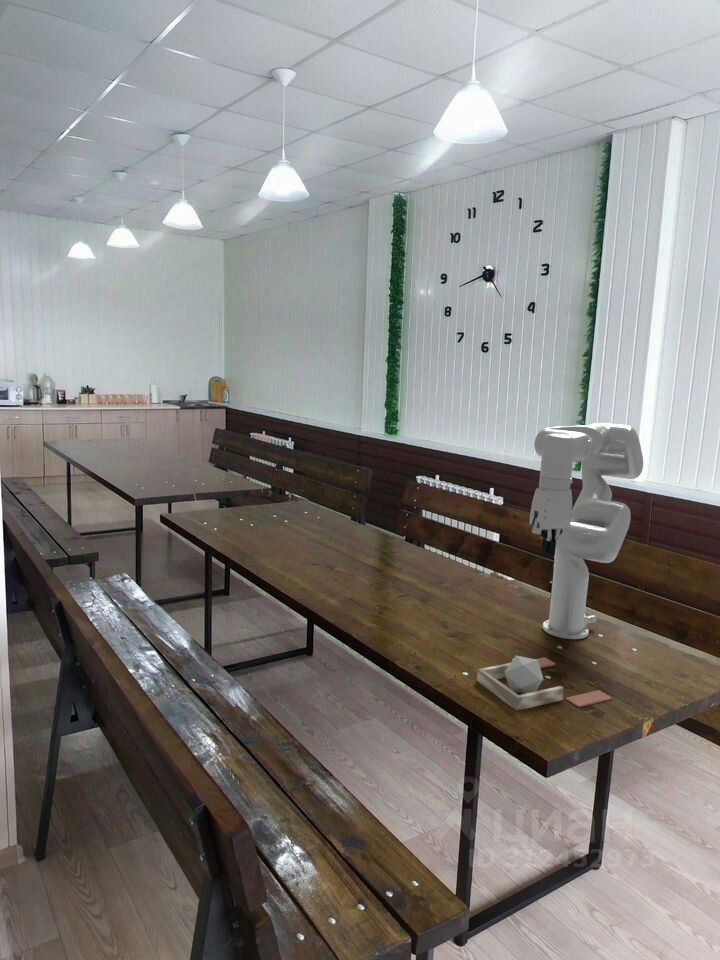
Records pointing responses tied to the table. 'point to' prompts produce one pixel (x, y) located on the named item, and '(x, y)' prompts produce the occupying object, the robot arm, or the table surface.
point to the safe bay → (510, 697)
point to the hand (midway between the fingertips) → (548, 554)
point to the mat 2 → (588, 698)
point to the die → (524, 675)
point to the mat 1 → (545, 662)
